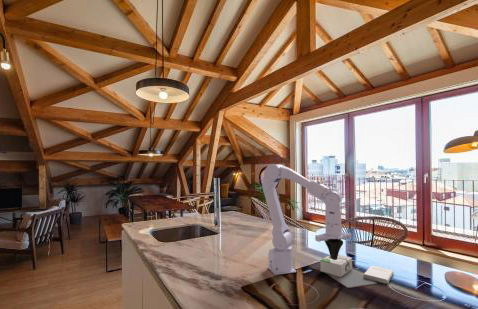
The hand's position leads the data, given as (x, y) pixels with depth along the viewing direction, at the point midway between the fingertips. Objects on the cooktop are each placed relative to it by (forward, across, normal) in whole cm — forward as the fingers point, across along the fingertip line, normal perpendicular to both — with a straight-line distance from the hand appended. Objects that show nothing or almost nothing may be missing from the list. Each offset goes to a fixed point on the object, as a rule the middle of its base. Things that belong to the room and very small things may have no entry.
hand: (333, 259), depth 99 cm
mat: (+8, +7, 0) cm, 10 cm away
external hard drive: (+8, +18, -2) cm, 20 cm away
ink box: (+5, +1, +4) cm, 6 cm away
